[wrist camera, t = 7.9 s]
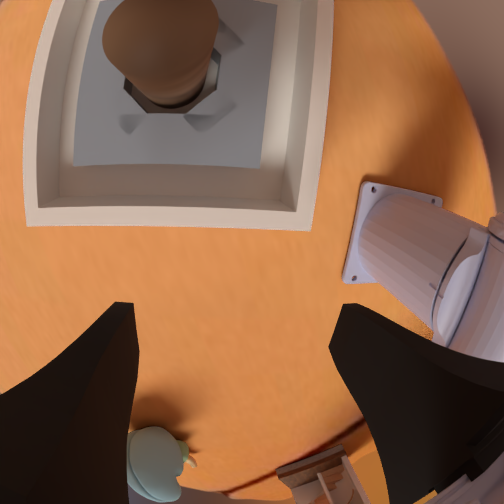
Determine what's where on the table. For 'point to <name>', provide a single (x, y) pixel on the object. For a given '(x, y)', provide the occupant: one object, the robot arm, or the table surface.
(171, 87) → the peg
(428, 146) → the table surface
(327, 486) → the tall white shelf
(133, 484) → the toy flower bud
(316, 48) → the box
